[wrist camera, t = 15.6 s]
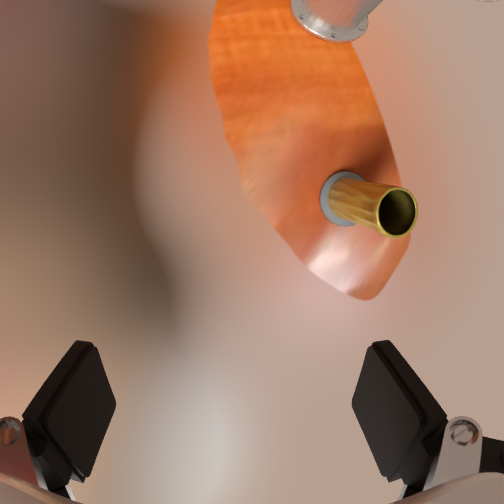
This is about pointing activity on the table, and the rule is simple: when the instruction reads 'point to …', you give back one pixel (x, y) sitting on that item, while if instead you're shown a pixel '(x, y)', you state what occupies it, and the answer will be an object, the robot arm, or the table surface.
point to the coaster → (324, 197)
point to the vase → (374, 206)
